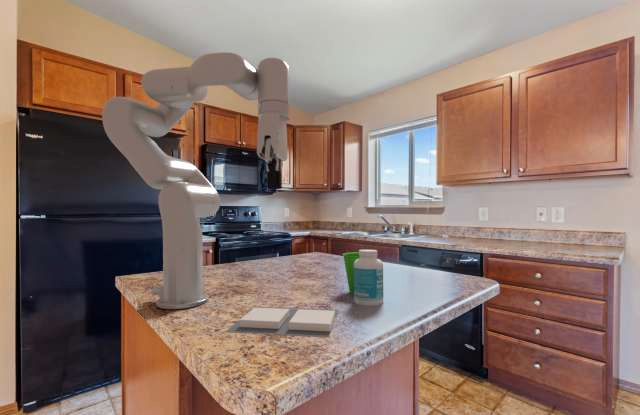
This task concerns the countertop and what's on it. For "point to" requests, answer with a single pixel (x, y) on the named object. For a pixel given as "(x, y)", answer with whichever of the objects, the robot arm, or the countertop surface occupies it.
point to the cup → (350, 268)
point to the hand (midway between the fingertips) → (274, 188)
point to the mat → (283, 329)
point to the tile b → (312, 320)
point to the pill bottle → (368, 279)
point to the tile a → (265, 318)
